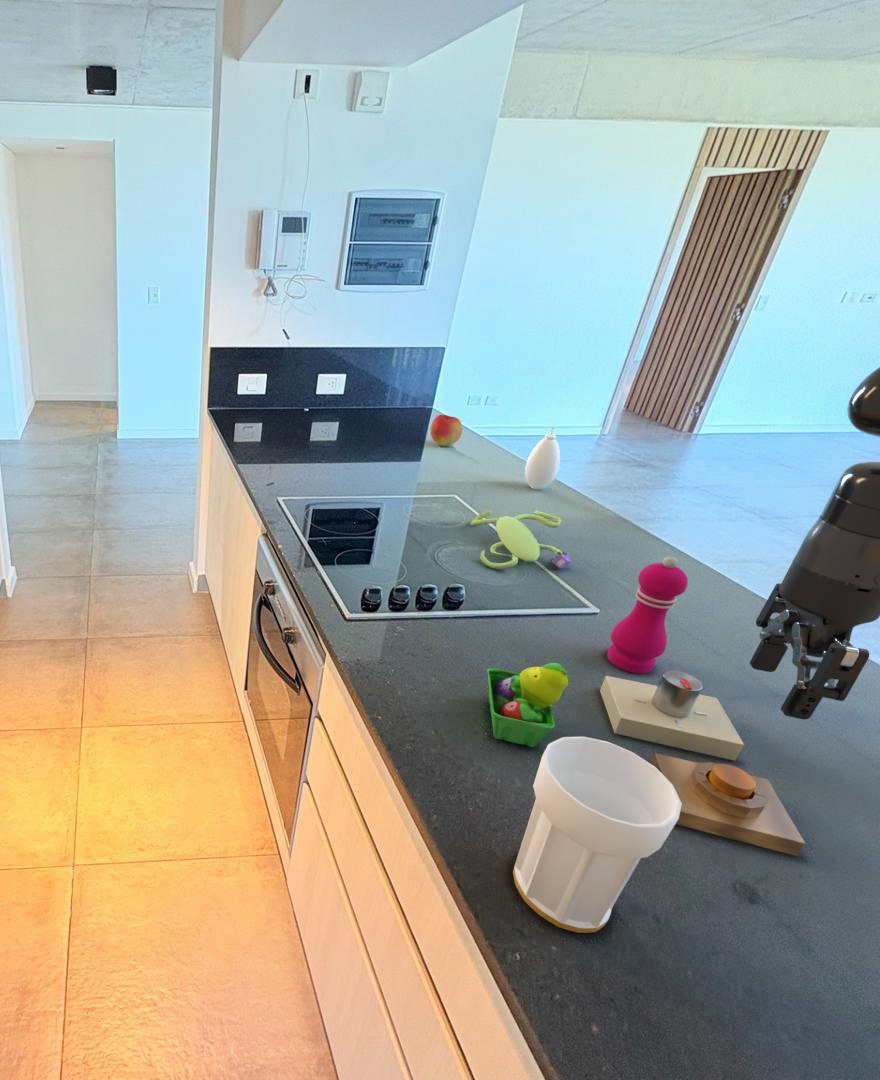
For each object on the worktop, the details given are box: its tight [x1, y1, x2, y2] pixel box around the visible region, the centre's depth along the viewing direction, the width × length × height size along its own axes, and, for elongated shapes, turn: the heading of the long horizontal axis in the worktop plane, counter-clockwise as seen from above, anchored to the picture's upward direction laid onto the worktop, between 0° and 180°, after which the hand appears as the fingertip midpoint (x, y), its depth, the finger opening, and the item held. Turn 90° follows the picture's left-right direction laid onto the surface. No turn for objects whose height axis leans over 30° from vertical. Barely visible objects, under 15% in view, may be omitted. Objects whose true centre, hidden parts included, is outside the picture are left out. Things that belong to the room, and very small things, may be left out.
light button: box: [708, 763, 756, 800], centre depth 75 cm, size 4×4×2 cm
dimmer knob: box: [652, 669, 703, 718], centre depth 88 cm, size 4×4×5 cm
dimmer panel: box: [599, 675, 745, 762], centre depth 89 cm, size 14×10×3 cm
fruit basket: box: [486, 662, 569, 748], centre depth 88 cm, size 11×9×11 cm
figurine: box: [469, 510, 573, 570], centre depth 139 cm, size 18×27×6 cm
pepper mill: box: [606, 556, 689, 675], centre depth 98 cm, size 7×7×20 cm
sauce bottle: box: [524, 425, 561, 491], centre depth 168 cm, size 8×8×18 cm
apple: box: [429, 414, 463, 447], centre depth 205 cm, size 10×10×10 cm
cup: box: [512, 736, 682, 934], centre depth 64 cm, size 11×11×17 cm
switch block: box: [649, 752, 806, 857], centre depth 76 cm, size 12×10×4 cm
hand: (776, 691), depth 69 cm, fingers open, 8 cm apart
